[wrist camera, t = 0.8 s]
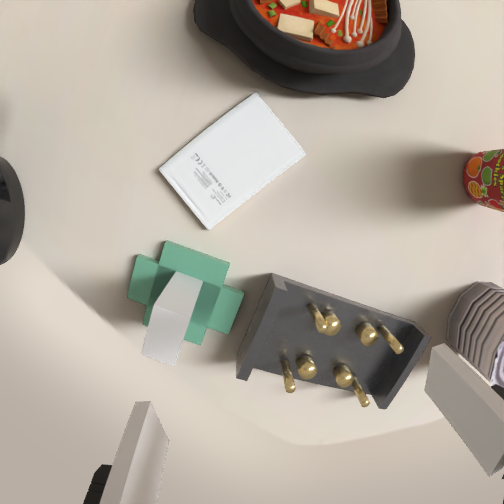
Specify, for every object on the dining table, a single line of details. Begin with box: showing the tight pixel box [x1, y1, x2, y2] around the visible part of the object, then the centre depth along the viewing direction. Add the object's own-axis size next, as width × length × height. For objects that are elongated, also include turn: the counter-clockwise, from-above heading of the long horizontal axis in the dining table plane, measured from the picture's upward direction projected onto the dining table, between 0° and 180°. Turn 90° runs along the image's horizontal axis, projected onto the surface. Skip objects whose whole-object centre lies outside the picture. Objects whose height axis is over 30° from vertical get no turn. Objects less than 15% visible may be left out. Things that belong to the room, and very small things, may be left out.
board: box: [127, 240, 244, 367], centre depth 29 cm, size 12×10×10 cm
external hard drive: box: [159, 93, 306, 230], centre depth 30 cm, size 2×8×12 cm
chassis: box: [236, 273, 431, 409], centre depth 33 cm, size 20×11×6 cm, turn 69°
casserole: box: [193, 0, 415, 98], centre depth 23 cm, size 25×19×8 cm
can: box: [447, 282, 504, 388], centre depth 30 cm, size 11×11×12 cm
